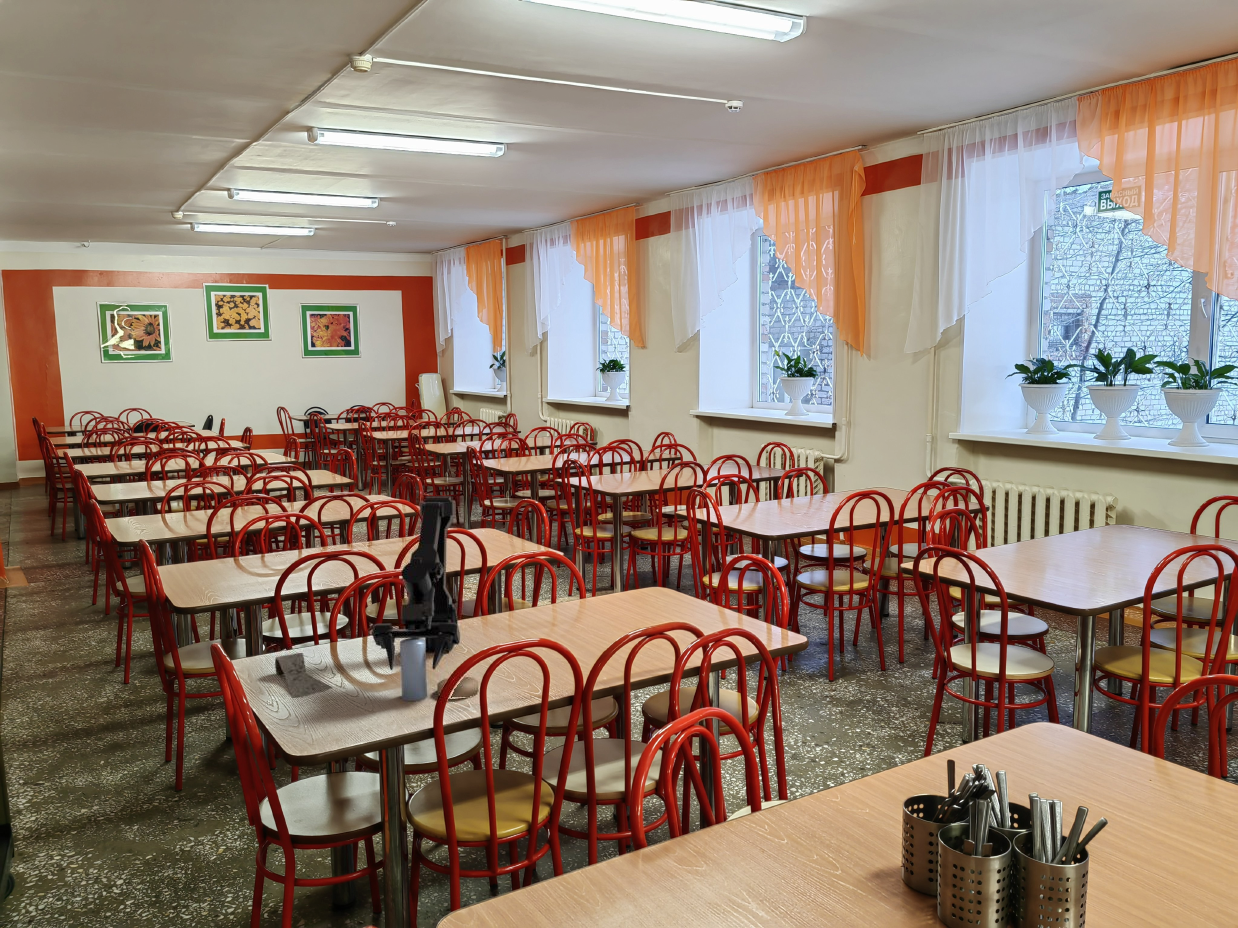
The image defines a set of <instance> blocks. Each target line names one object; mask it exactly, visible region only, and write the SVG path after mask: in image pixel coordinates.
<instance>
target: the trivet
mask: <svg viewBox="0 0 1238 928" xmlns="http://www.w3.org/2000/svg"><path fill="white" fill-rule="evenodd" d="M463 677H464V678H463V679H462V680H461V681H460V683H459V684H458V685H457V687H456V688H455V689H454V692H453V694H452V696H451V698H452V697H469V698H471V697H470V696H472V697H474V696H476V695H478V693H479V680H478V679H477V678H474V677H470V676H463ZM448 678H449V677H447V678H444V679H442V680H440V681H438V682H437V684H436V688H437V689H436V690H437V696H438V695H439V694H440V693H441V690H442V688H443V687H444V684H445V683H446V681H447V680H448ZM477 692H478V693H477ZM473 695H474V696H473Z"/></svg>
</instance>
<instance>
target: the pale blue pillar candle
mask: <svg viewBox="0 0 1238 928" xmlns="http://www.w3.org/2000/svg"><path fill="white" fill-rule="evenodd" d="M399 648H400V649H399V652H400V656H399V657H400V676H401V677H400V679H401V699H402V700H403V701H406V702H418V701H423V700H425V699H426V698H427V697H428V685H427V683H428V681H427V656H426V644H425V638H403V639H402V640H401V641H400V642H399Z"/></svg>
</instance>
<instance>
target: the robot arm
mask: <svg viewBox="0 0 1238 928" xmlns="http://www.w3.org/2000/svg"><path fill="white" fill-rule="evenodd" d="M456 504H457V503H456V500H452V497H451V495H450V496H426V497H425V499H424V500H422V501H419V516H420V517H421V525H420V530H419V531H420V533H419V540H418V545H417V548H416V549H415V550H414V551H412V553H411V554H410V555H411V556H410V560H409V562H407V564H406V565H405V566H403V568H402V570H401V577H402V580H403V584H404V586H405V589H406V592H407V593H408V598H407V604H402V605H401V611H400V620H401V625H402V626H403V627H404V628H403V629H402V628H400V629H394V627H393V625H392V623H376V624H374V626H373V627H372V631H371V635H372V637H373V640H374V642H375V645H376V646H378V647H380V648H381V649H382V650H385V652H386V655H387V660H388V665H389V666H388V667H389V669H390V671H393V669H394V666H395V654H396V653H395V652H396V646H395V641H396V640H395V639H409V638H422V639H424V640H425V648H426V653H427V654H428V653H429V654H430V653H431V654H432V653H434V654H433V659H432V670H436V669H437V666H438V665H439V663H440V662H441V659H442V658H443V656H444V655H445V654H447V653H450V652H451V650H452V649H453V648H454V647H455V646H456V645H459V644H460V642H461V633H460V629H459V625H458V623H459V622H458V613H457V609H456V608H455V605H454V603H453V597H452V596H451V595H450V593H449V591H448V589H447V587H446V586H447V536H448V535H447V534H448V533H447V532H448V529H449V528H450V526H452V524H453V522H454V515H456V510H457V508H456V507H457V506H456Z"/></svg>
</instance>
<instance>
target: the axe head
mask: <svg viewBox="0 0 1238 928" xmlns="http://www.w3.org/2000/svg"><path fill="white" fill-rule="evenodd" d="M305 662H306V661H305V657H304V652H297V653H291V654H286V655H285V654H284V655H280V656H276V657H275V659H274V669H275V672H276V675H277V676H283V675H282V674H284V676H283V677H280V679H285V682H286V685H287V687H288V692H289V695H290V697H291V699H300V698H303V697H308V696H311V695H315V694H319V693H323V692H326V691H330V690H331V689H333V686H330V685H329V684H327V683H325V682H323V681H321V680H320V679H317V678H316V677H314V676H313V675H311V674H309V673H307V669H306V667H307V666H306V664H305Z"/></svg>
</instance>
